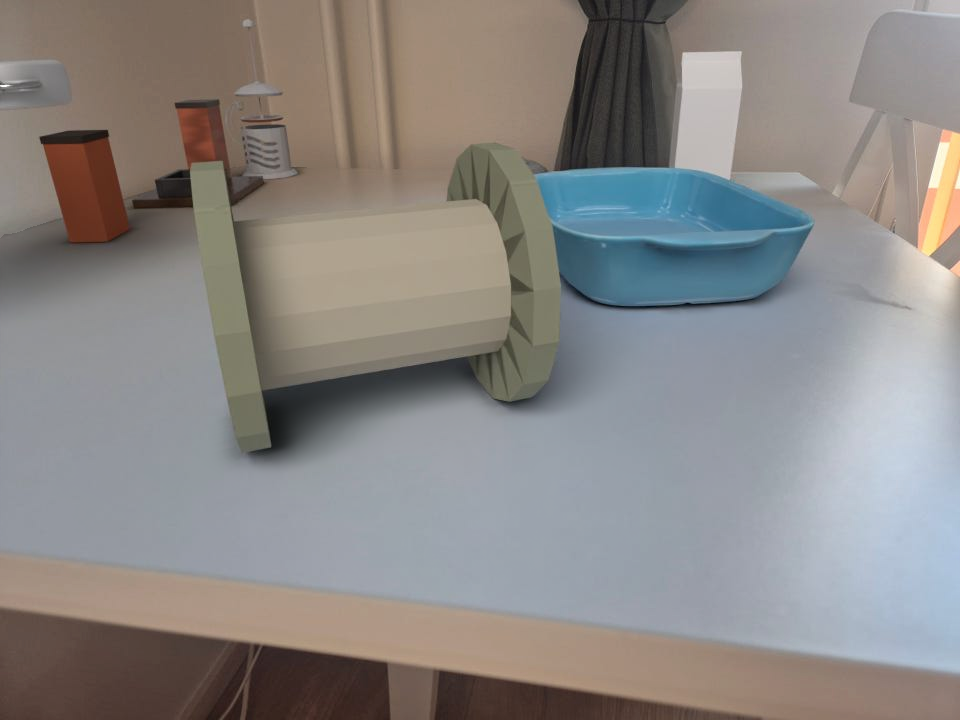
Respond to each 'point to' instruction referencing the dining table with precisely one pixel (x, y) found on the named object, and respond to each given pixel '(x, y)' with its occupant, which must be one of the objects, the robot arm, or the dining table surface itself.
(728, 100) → the milk carton
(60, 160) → the loose pad
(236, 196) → the pad dock
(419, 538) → the dining table surface
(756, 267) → the casserole dish
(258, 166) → the french press
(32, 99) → the robot arm
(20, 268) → the dining table surface
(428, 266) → the spool
